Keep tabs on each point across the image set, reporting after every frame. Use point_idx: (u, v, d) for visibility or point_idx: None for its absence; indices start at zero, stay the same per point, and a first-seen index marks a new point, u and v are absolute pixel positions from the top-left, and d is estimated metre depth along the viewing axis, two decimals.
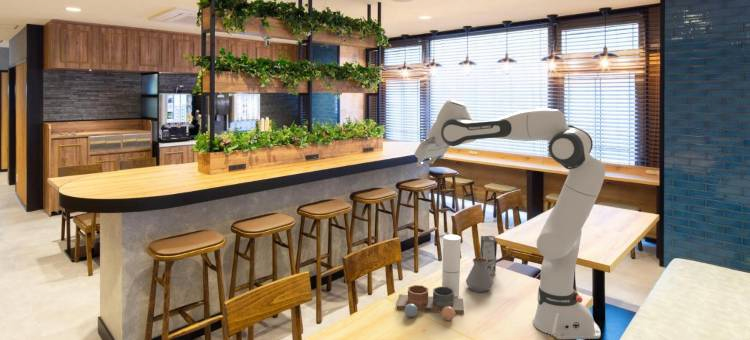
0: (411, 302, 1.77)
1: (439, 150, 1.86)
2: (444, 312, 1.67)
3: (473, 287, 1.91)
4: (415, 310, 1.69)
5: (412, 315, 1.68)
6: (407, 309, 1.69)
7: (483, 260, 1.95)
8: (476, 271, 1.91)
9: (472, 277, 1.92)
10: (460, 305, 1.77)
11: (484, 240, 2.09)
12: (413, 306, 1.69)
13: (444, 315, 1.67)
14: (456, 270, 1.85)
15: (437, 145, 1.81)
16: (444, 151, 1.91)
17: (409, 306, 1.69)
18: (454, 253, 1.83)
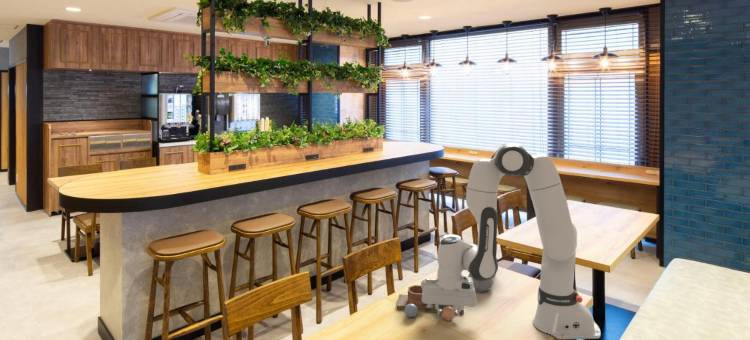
0: (411, 302, 1.77)
1: (456, 298, 1.65)
2: (444, 312, 1.67)
3: None
4: (415, 310, 1.69)
5: (412, 315, 1.68)
6: (407, 309, 1.69)
7: None
8: None
9: (472, 277, 1.92)
10: None
11: None
12: (413, 306, 1.69)
13: (444, 315, 1.67)
14: None
15: (442, 289, 1.65)
16: (471, 302, 1.64)
17: (409, 306, 1.69)
18: None
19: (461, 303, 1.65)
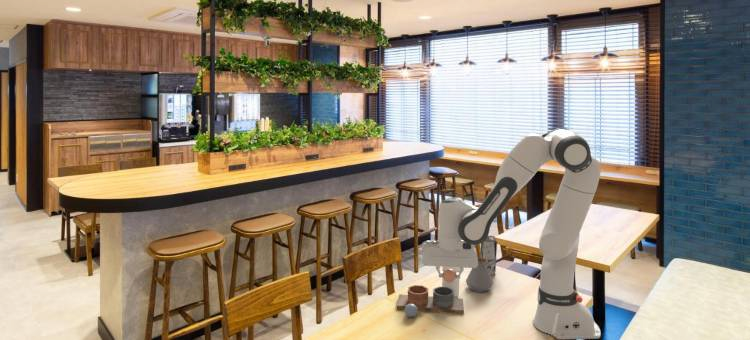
0: (411, 302, 1.77)
1: (457, 259, 1.62)
2: (445, 274, 1.64)
3: (473, 287, 1.91)
4: (415, 310, 1.69)
5: (412, 315, 1.68)
6: (407, 309, 1.69)
7: (483, 260, 1.95)
8: (476, 271, 1.91)
9: (472, 277, 1.92)
10: (460, 305, 1.77)
11: None
12: (413, 306, 1.69)
13: (445, 277, 1.64)
14: (456, 270, 1.85)
15: (443, 250, 1.62)
16: (472, 263, 1.62)
17: (409, 306, 1.69)
18: None
19: (462, 264, 1.62)
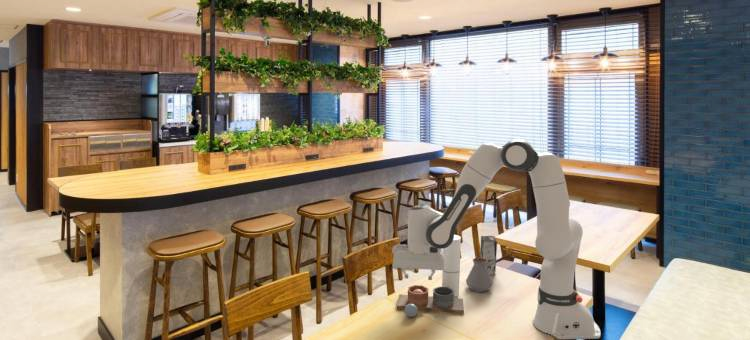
0: (411, 302, 1.77)
1: (425, 262, 1.75)
2: None
3: (473, 287, 1.91)
4: (415, 310, 1.69)
5: (412, 315, 1.68)
6: (407, 309, 1.69)
7: (483, 260, 1.95)
8: (476, 271, 1.91)
9: (472, 277, 1.92)
10: (460, 305, 1.77)
11: (484, 240, 2.09)
12: (413, 306, 1.69)
13: None
14: (456, 270, 1.85)
15: (412, 253, 1.75)
16: (439, 265, 1.74)
17: (409, 306, 1.69)
18: (454, 253, 1.83)
19: (430, 267, 1.75)
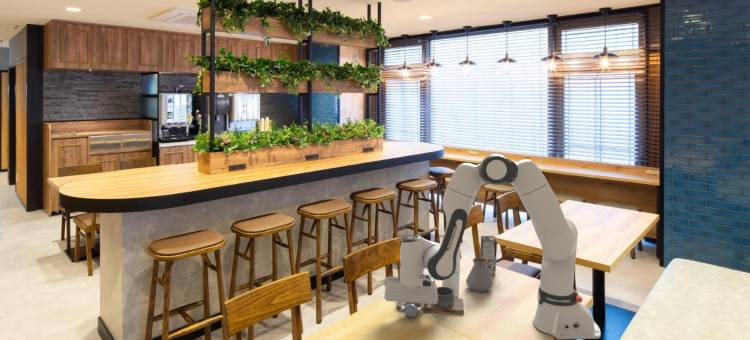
0: None
1: (418, 295, 1.67)
2: None
3: (473, 287, 1.91)
4: (415, 310, 1.69)
5: (412, 315, 1.68)
6: (407, 309, 1.69)
7: (483, 260, 1.95)
8: (476, 271, 1.91)
9: (472, 277, 1.92)
10: (460, 305, 1.77)
11: (484, 240, 2.09)
12: (413, 306, 1.69)
13: None
14: (456, 270, 1.85)
15: (404, 286, 1.67)
16: (432, 299, 1.66)
17: (409, 306, 1.69)
18: None
19: (423, 300, 1.67)
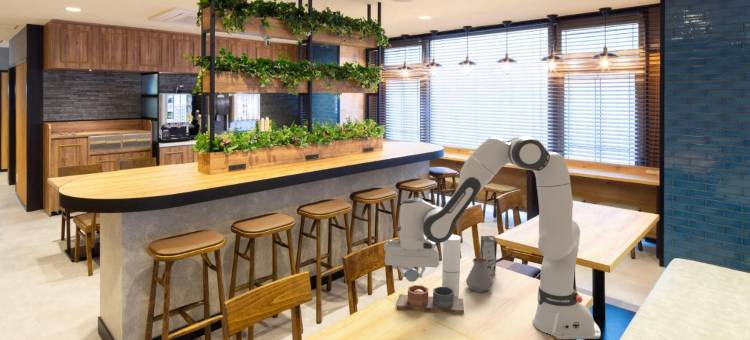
0: (411, 302, 1.77)
1: (419, 258, 1.64)
2: None
3: (473, 287, 1.91)
4: (416, 274, 1.66)
5: (413, 279, 1.66)
6: (407, 273, 1.66)
7: (483, 260, 1.95)
8: (476, 271, 1.91)
9: (472, 277, 1.92)
10: (460, 305, 1.77)
11: (484, 240, 2.09)
12: (414, 270, 1.66)
13: None
14: (456, 270, 1.85)
15: (405, 250, 1.64)
16: (433, 262, 1.64)
17: (410, 270, 1.66)
18: (454, 253, 1.83)
19: (424, 264, 1.64)
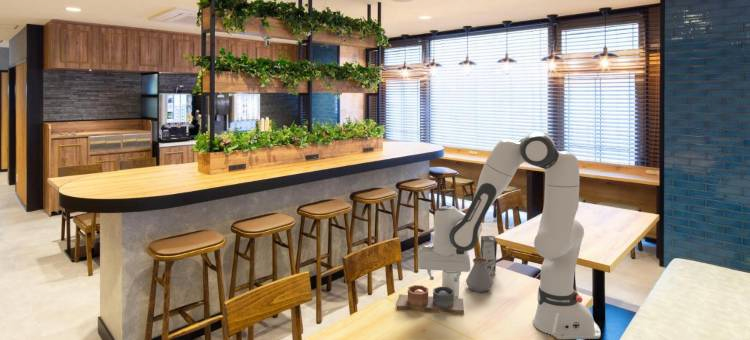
0: (411, 302, 1.77)
1: (451, 263, 1.73)
2: None
3: (473, 287, 1.91)
4: None
5: None
6: None
7: (483, 260, 1.95)
8: (476, 271, 1.91)
9: (472, 277, 1.92)
10: (460, 305, 1.77)
11: (484, 240, 2.09)
12: (446, 293, 1.77)
13: None
14: None
15: (438, 255, 1.73)
16: (465, 267, 1.73)
17: (442, 293, 1.77)
18: None
19: (456, 268, 1.73)
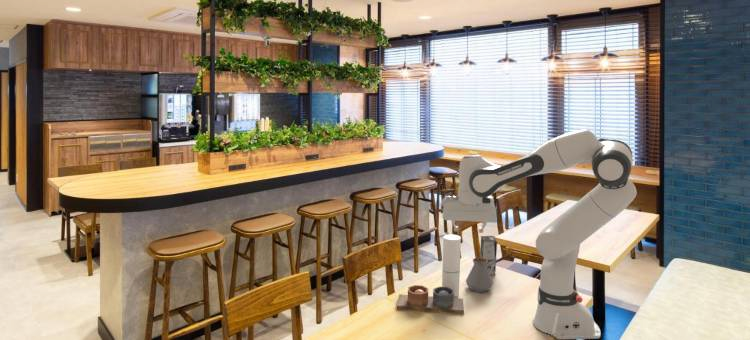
0: (411, 302, 1.77)
1: (477, 213, 1.69)
2: None
3: (473, 287, 1.91)
4: None
5: None
6: None
7: (483, 260, 1.95)
8: (476, 271, 1.91)
9: (472, 277, 1.92)
10: (460, 305, 1.77)
11: (484, 240, 2.09)
12: (446, 293, 1.77)
13: None
14: (456, 270, 1.85)
15: (463, 204, 1.69)
16: (491, 217, 1.69)
17: (442, 292, 1.77)
18: (454, 253, 1.83)
19: (481, 218, 1.70)
